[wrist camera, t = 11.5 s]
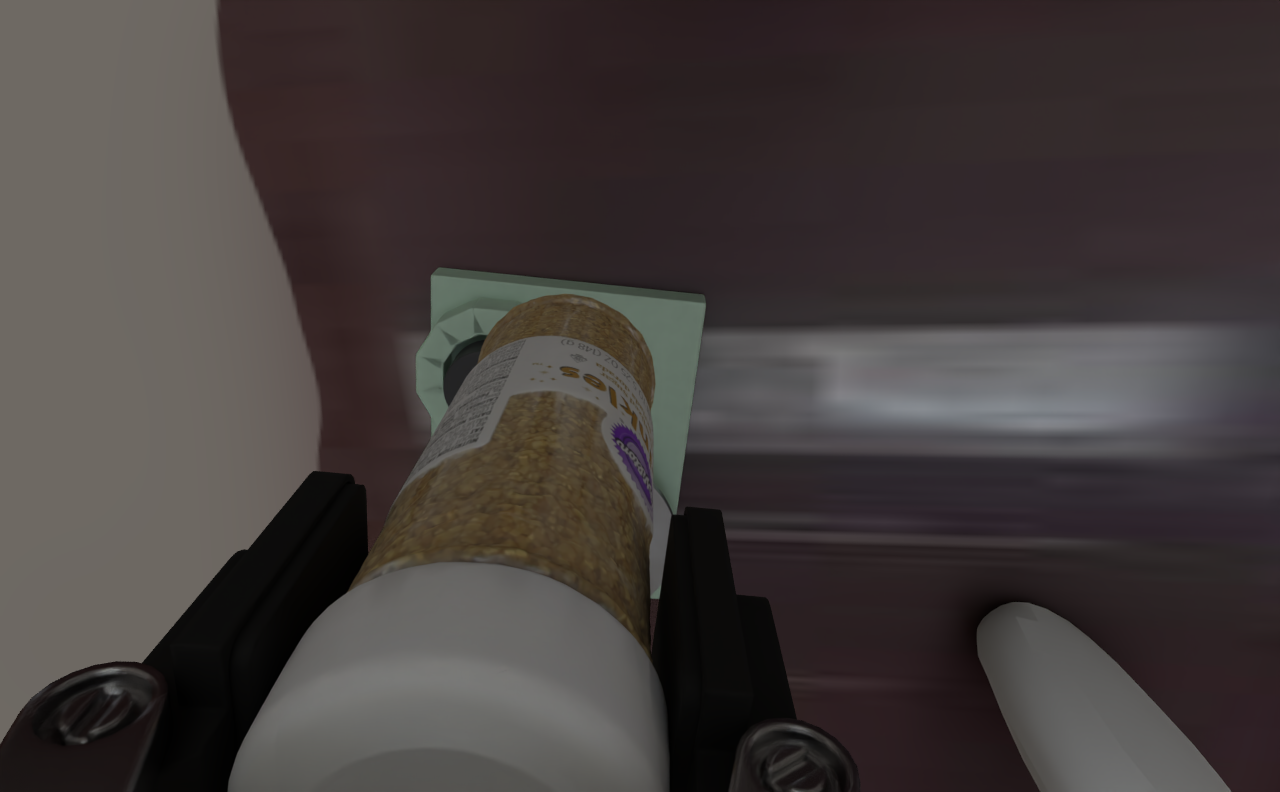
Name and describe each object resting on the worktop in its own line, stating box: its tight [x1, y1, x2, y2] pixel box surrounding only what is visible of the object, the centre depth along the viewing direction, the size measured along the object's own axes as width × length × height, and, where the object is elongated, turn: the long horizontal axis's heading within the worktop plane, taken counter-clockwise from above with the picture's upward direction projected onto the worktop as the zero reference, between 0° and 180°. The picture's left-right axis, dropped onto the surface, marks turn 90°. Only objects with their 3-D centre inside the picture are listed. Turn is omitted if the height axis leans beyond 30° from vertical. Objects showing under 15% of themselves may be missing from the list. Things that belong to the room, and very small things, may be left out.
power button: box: [443, 340, 485, 407], centre depth 34 cm, size 4×4×2 cm
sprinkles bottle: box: [228, 294, 670, 792], centre depth 14 cm, size 5×5×13 cm
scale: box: [416, 267, 706, 599], centre depth 37 cm, size 16×12×3 cm
